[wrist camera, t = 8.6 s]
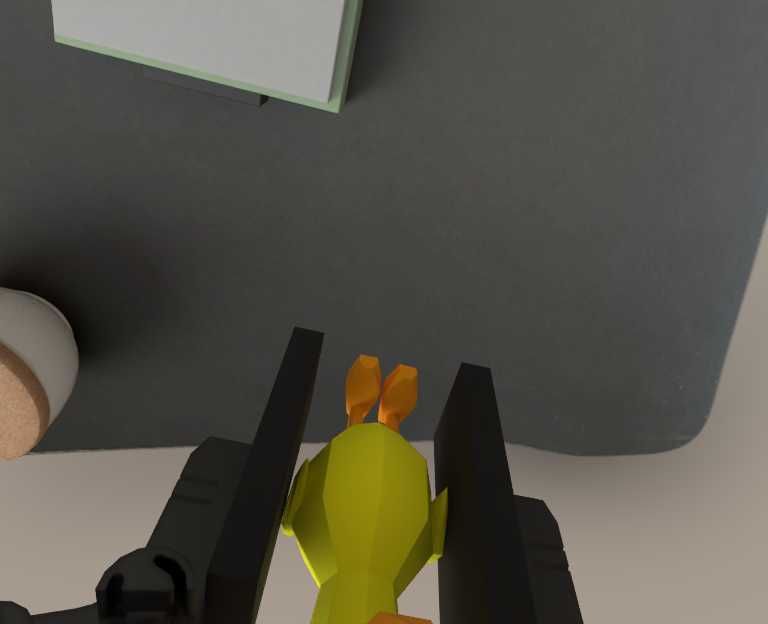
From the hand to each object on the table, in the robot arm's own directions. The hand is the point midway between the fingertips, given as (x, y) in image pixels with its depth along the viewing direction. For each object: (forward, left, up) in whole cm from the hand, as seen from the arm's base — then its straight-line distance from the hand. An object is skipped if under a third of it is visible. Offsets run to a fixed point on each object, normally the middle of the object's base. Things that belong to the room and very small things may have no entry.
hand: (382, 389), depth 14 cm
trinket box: (+23, +17, -19) cm, 35 cm away
